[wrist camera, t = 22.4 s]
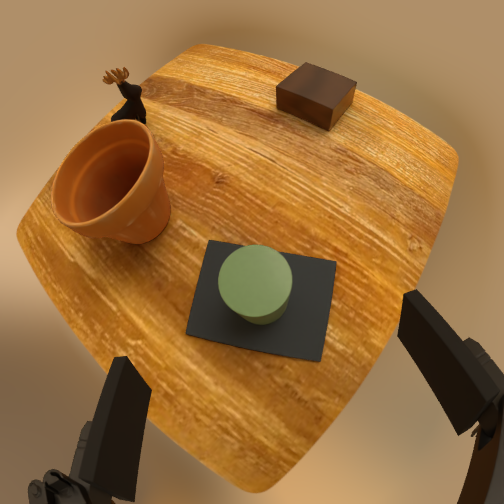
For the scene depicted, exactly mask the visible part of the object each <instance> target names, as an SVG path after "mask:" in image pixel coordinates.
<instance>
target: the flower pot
mask: <svg viewBox="0 0 504 504" xmlns="http://www.w3.org/2000/svg"><path fill="white" fill-rule="evenodd" d="M163 172H164V161H163V156H162V153H161V150H160V148H159V146H158V144H157V142H156V140H155V138H154V137H153V135H152V133H151V131H150V130H149V129H148V128H147V126H145V125H144V124H143V123H141V122H139V121H135V120H126V119H125V120H117V121H113V122H110V123H107V124H104V125H102V126H100V127H98V128H96V129H95V130H93V131H91V132H90V133H89V134H87V135H86V136H85V137H84V138H82V139H81V140H80V141H79V142H78V143H77V144H76V145H75V146H74V147H73V148H72V149H71V151H70V152H69V153H68V154H67V156H66V157H65V159H64V160H63V162H62V163H61V165H60V167H59V169H58V171H57V173H56V176H55V179H54V182H53V186H52V191H51V205H52V209H53V212H54V214H55V216H56V218H57V219H58V220H59V221H60V222H61V223H62V224H64V225H65V226H67V227H69V228H70V229H72V230H73V231H75V232H77V233H79V234H81V235H83V236H86V237H89V238H103V237H109V238H113V239H116V240H120V241H124V242H127V243H132V244H142V243H146V242H148V241H151V240H152V239H154V238H155V237H157V236H158V235H159V234H160V233H161V232H162V231H163V229H164V228H165V226H166V225H167V223H168V220H169V217H170V212H171V207H170V201H169V198H168V194H167V191H166V187H165V184H164V180H163Z"/></svg>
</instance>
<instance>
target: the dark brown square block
mask: <svg viewBox="0 0 504 504" xmlns="http://www.w3.org/2000/svg"><path fill="white" fill-rule="evenodd" d="M356 84H357V82H356V81H353V80H351V79H349V78H346V77H344V76H341V75H339V74H337V73H334V72H332V71H329V70H326V69H324V68H321V67H318V66H315V65H312V64H309V63H307V62H306V63H304V64H303V65H302V66H300V67H299V68H298V69H296V70H295V71H294V72H293V73H291V74H290V75H289V76H288V77H287V78H285V79H284V80H283V81H282V82H280V83H279V84H278V85H277V86H276V103H277V108H278V109H280V110H283V111H285V112H287V113H290V114H292V115H294V116H297V117H299V118H301V119H304V120H306V121H308V122H310V123H312V124H315V125H317V126H319V127H321V128H323V129H325V130H327V131H330V130H331V128H332V127H333V126H334V125H335V123H336V122H337V121H338V120H339V118H340V117H341V116H342V115H343V113H344V112H345V111H346V110H347V108H348V107H349V106H350V105H351V103H352V102H353V97H354V93H355V89H356Z"/></svg>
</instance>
